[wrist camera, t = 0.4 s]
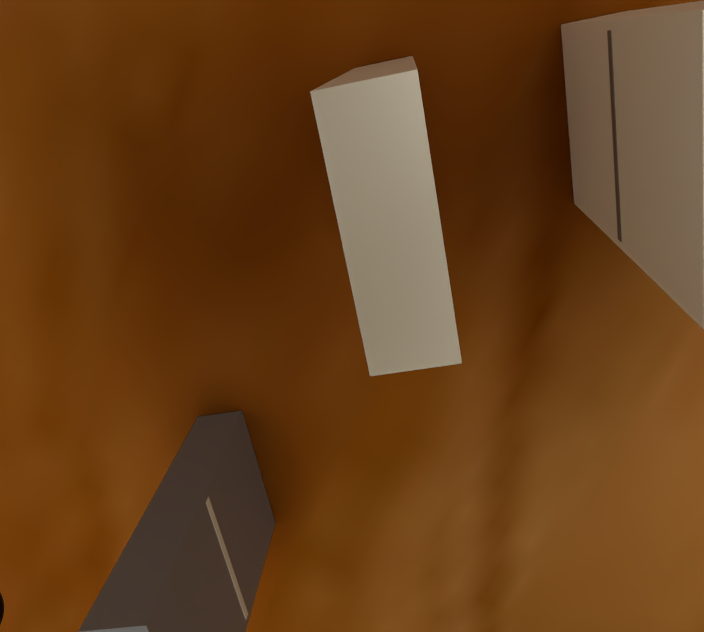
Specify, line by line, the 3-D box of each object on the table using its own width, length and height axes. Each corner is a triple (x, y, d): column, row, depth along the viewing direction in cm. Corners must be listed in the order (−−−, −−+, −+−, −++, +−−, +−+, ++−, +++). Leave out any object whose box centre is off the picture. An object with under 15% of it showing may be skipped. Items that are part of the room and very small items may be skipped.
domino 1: (413, 55, 18) (418, 68, 10) (439, 226, 20) (463, 362, 11) (353, 68, 18) (308, 91, 10) (385, 235, 20) (368, 376, 12)
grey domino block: (242, 410, 23) (146, 625, 14) (275, 522, 24) (207, 772, 16) (197, 416, 23) (77, 631, 14) (233, 527, 25) (144, 775, 16)
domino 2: (624, 11, 17) (831, -18, 9) (632, 193, 19) (811, 314, 10) (559, 24, 17) (701, 9, 9) (573, 203, 19) (701, 329, 11)
